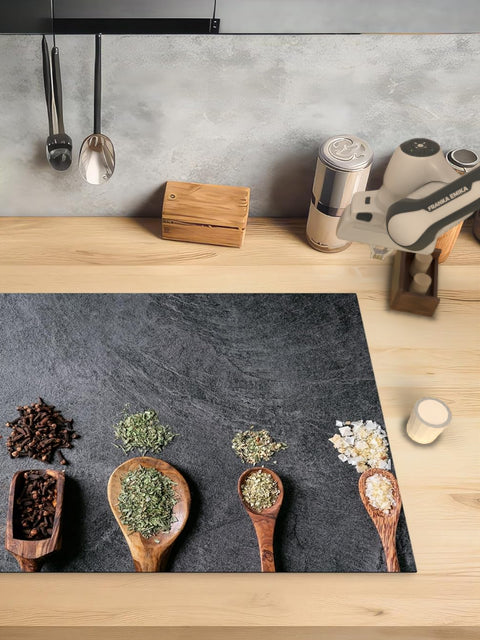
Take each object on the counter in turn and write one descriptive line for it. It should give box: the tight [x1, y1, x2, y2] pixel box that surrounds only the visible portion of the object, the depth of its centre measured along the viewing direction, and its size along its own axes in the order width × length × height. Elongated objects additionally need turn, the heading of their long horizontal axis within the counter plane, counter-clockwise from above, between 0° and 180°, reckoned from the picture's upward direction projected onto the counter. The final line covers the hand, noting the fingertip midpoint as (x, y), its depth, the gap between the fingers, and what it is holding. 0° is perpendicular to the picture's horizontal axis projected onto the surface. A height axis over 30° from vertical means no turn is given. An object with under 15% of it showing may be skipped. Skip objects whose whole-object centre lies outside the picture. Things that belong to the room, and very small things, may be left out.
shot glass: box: [406, 396, 453, 445], centre depth 139 cm, size 7×7×7 cm
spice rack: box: [389, 247, 443, 318], centre depth 161 cm, size 9×16×7 cm, turn 164°
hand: (376, 257), depth 160 cm, fingers closed
